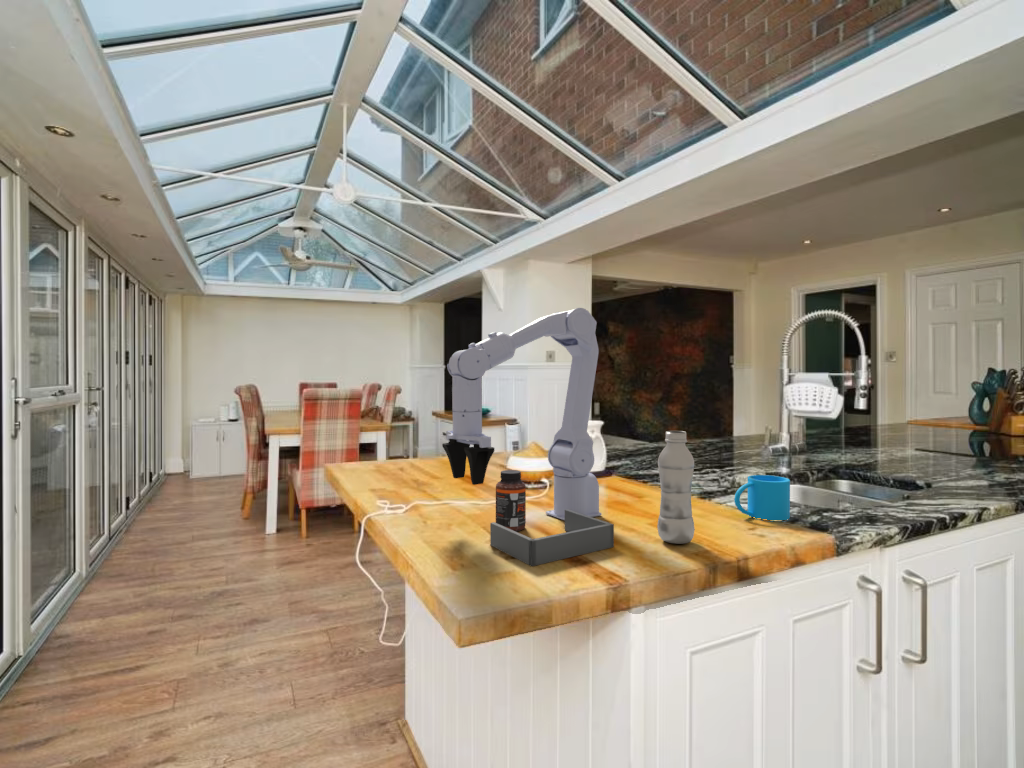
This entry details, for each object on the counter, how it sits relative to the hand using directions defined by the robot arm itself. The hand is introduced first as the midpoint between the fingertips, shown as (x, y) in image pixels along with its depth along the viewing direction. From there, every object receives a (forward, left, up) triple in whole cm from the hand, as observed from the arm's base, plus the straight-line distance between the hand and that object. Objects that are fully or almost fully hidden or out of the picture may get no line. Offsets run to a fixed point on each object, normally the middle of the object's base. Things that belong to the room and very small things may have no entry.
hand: (467, 480), depth 106 cm
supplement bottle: (-8, +4, -10) cm, 13 cm away
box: (-8, +17, -10) cm, 21 cm away
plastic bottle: (-28, +28, -10) cm, 40 cm away
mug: (-57, +26, -10) cm, 63 cm away
